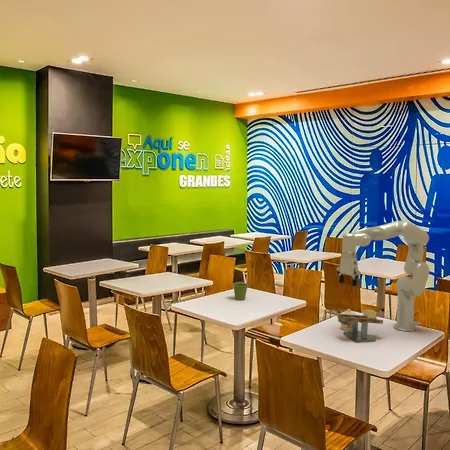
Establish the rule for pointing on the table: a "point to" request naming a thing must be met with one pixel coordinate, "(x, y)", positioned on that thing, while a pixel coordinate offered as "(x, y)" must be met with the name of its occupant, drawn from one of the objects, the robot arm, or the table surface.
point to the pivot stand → (359, 333)
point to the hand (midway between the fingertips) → (347, 284)
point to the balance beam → (355, 319)
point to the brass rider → (369, 314)
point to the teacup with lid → (349, 326)
